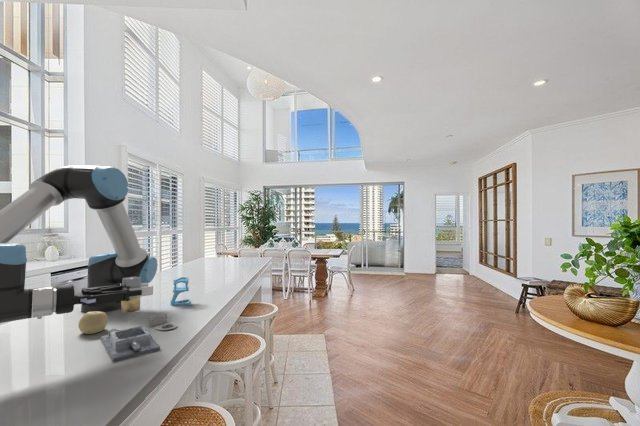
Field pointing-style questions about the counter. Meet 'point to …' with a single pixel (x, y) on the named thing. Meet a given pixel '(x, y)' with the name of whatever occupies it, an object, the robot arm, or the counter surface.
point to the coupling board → (129, 343)
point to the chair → (180, 291)
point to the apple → (93, 322)
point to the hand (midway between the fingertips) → (150, 288)
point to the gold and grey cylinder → (134, 302)
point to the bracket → (159, 320)
